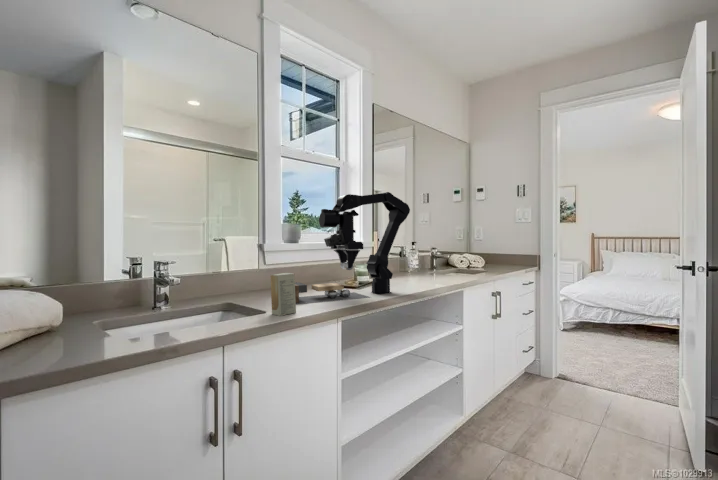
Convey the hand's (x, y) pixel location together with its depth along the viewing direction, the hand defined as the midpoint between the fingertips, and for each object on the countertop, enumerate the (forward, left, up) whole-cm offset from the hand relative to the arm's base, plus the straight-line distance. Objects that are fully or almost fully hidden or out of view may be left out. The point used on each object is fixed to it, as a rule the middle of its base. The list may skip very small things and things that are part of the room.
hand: (346, 268), depth 144 cm
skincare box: (+29, +20, -12) cm, 37 cm away
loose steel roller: (0, 0, -1) cm, 1 cm away
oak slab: (+8, 0, -8) cm, 11 cm away
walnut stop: (+20, 0, -11) cm, 23 cm away
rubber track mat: (+8, 0, -11) cm, 14 cm away
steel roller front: (+7, 0, -8) cm, 11 cm away
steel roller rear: (+2, 0, -8) cm, 8 cm away
